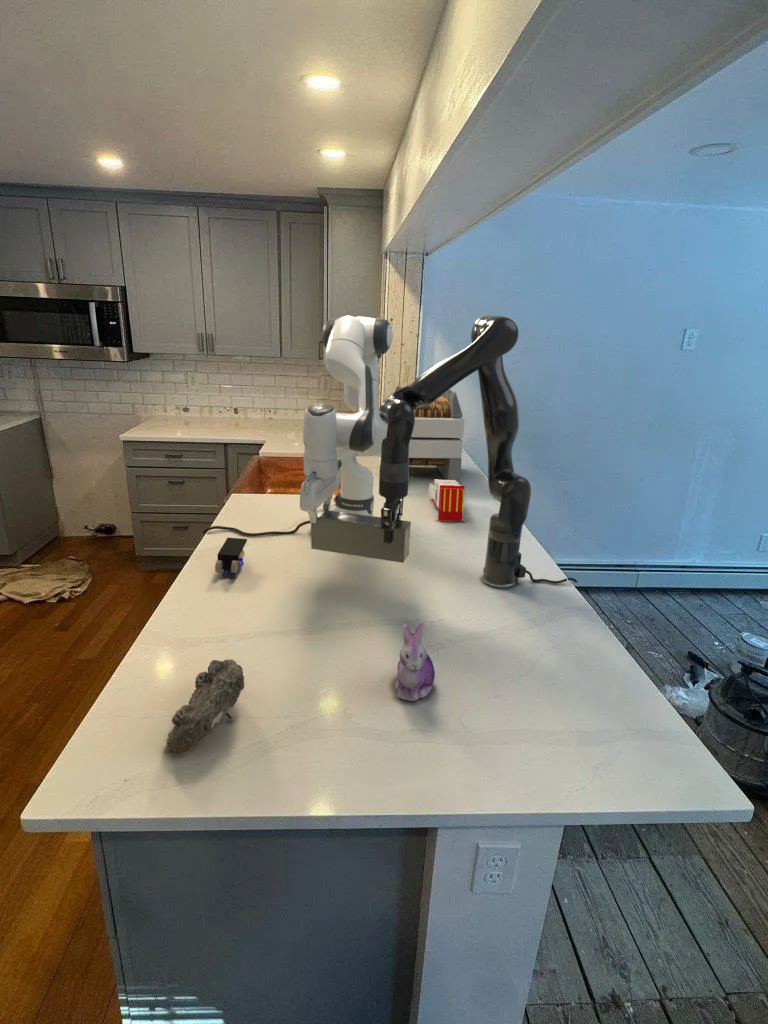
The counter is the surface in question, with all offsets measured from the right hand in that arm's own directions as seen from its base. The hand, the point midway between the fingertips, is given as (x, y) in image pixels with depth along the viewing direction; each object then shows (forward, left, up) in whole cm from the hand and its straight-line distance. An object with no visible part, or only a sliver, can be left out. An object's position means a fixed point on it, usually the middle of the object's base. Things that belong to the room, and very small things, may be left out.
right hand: (391, 537), depth 150 cm
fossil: (+49, +36, -18) cm, 64 cm away
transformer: (-58, -113, -18) cm, 128 cm away
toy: (-47, -62, -18) cm, 80 cm away
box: (+7, -5, -5) cm, 10 cm away
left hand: (+16, -12, +3) cm, 21 cm away
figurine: (+9, +39, -18) cm, 44 cm away
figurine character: (+39, -28, -18) cm, 51 cm away
